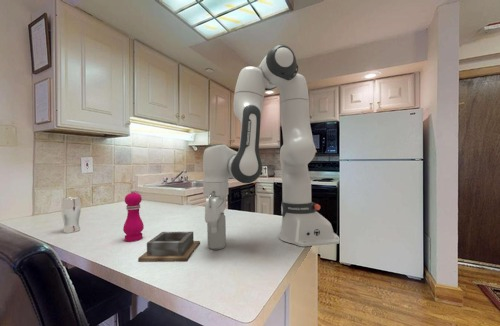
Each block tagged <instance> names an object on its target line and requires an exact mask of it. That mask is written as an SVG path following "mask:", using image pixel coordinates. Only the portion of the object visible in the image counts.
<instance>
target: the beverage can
mask: <svg viewBox="0 0 500 326" xmlns="http://www.w3.org/2000/svg"><path fill="white" fill-rule="evenodd" d="M206 224H207V227H206V228H207V233H206V234H207V247H208V248H209V249H210V250H217V251H218V250H222V249H224V248H225V246H226V245H227V240H226V239H227V234H226V232H227V231H226V230H227V229H226V227H227V225H226V215H225V211H224V212H222V214H221V215H220V218H219V219H218V220H217V232H216V233H212V232H211V225H210V223H206Z"/></svg>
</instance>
